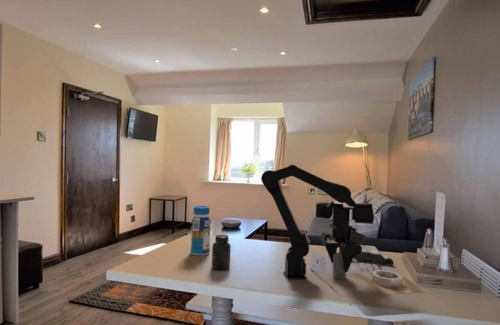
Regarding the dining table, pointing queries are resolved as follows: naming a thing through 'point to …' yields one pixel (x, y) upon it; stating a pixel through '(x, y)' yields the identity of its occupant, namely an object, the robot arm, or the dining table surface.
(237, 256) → the dining table surface
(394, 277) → the aluminium collar
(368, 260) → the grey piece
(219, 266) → the supplement bottle
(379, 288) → the tan square board
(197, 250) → the beverage bottle
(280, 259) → the dining table surface
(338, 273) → the grey rounded plug
